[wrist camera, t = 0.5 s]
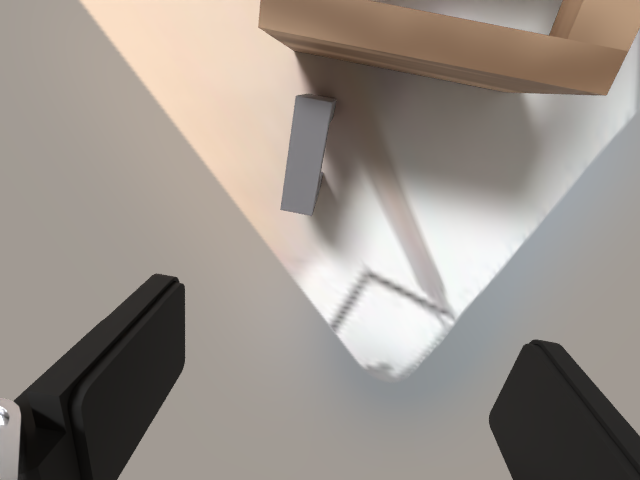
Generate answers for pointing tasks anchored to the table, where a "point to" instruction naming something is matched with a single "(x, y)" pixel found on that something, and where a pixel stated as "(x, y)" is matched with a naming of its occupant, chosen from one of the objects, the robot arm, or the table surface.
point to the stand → (465, 43)
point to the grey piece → (306, 152)
